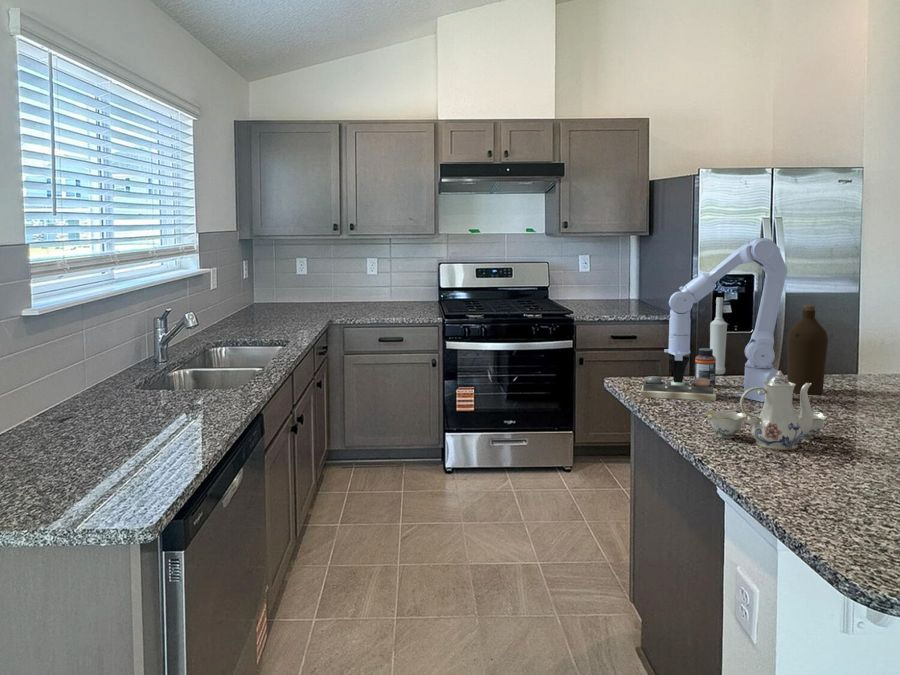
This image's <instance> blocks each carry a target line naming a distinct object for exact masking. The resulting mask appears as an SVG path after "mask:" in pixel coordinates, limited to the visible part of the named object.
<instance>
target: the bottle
mask: <svg viewBox="0 0 900 675" xmlns="http://www.w3.org/2000/svg"><path fill="white" fill-rule="evenodd" d="M715 304H716V305H715V317H714V320H712V321H711V322H710V324H709V333H710V334H709V339H710V340H709V349H713V356H714V357H715V358H716V373H715V375H724V374H726V367H725V366H726V363H725V362H726V350H727V349H726V347H727V329H728V323H727V322H726V321H725V319H724V317H723V308H724V307H723V305H724V297H721V296H720V297H718V296H717V297H716V299H715Z"/></svg>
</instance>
